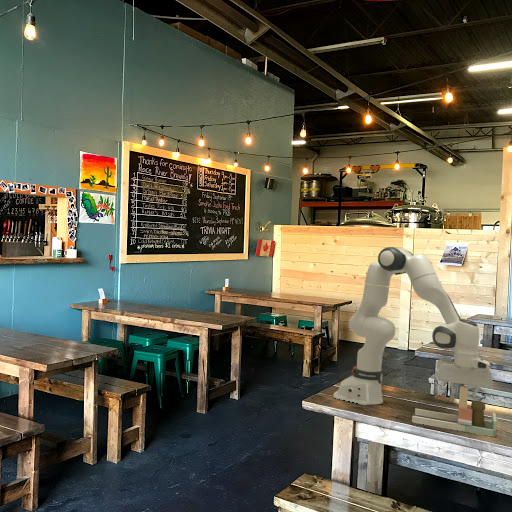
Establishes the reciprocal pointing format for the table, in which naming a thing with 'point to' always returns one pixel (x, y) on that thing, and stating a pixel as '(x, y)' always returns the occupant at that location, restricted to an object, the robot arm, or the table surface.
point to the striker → (464, 407)
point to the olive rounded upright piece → (478, 414)
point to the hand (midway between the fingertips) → (463, 395)
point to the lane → (451, 425)
